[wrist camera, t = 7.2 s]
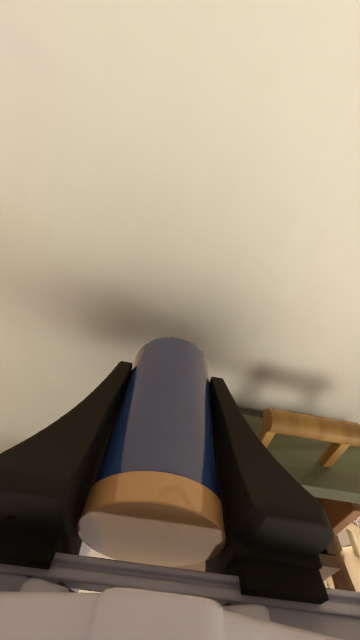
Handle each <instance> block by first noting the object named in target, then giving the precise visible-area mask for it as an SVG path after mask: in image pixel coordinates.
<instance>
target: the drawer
mask: <svg viewBox="0 0 360 640" xmlns="http://www.w3.org/2000/svg"><path fill="white" fill-rule="evenodd" d="M243 416H244V415H243ZM244 418H245V419H246V421H247V422H248V424H249V426H250V427H251V428H252V430H253V431H254V433H255V434H256V436H257V437H258V438H259V439H260V441H261V442H262V443H263V445H264V446H265V447H266V448H267V450H268V451H269V452H270V453H271V454H272V455H273V456H274V458H275V459H276V460H277V461H278V462H279V463H280V464H281V465H282V466H283V468H284V469H285V470H286V471H287V472H288V473H289V474H290V475H291V476H292V477H293V478H294V479H295V480H296V481H297V482H298V483H299V484H300V485H301V486H303V487H304V488H305V489H306V490H307V491H308V492H309V493H310V494H311V495H313V496H314V497H315V498H316V499H317V500H318V501H319V502H320V503H321V504H322V506H323V508H324V510H325V512H326V514H327V517H328V519H329V522H330V524H331V527H332V529H333V532H334V534H335V536H336V535H337V534H338V533H340V532H341V531H342V530H343V529H344V528H346V527H347V526H348V525H349V524H350V523H352V522H353V521H354V520H355V519H356V518H358V517H359V516H360V425H359V424H358V423H354V422H348V421H342V420H336V419H330V418H324V417H318V416H312V415H306V414H301V413H295V412H289V411H283V410H277V409H271V408H266V409H265V410H264V413H263V418H256V417H250V416H244ZM335 536H334V537H335Z"/></svg>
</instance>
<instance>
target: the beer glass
mask: <svg viewBox="0 0 360 640" xmlns="http://www.w3.org/2000/svg"><path fill="white" fill-rule="evenodd" d="M332 544H333V547H334V549H335V552H336V556H337V557H338V560H339V562H340V565H341V567H342V569H340V570H339V571H338V572H336V573H335V574H333V575H332V576H330V577H329V578H327V579H326V582H327V586H328V588H331V589H339V590H347V591H354V592H360V531H359V529H358V527H357V526H356V525H355V524H354V523H350V524H349V525H348V526H347V527H346V528H344V529H343V530H342V531H341V532H340V533H338V534H337V535H336V536H335V537H334V540H333V542H332Z"/></svg>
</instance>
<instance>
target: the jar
mask: <svg viewBox="0 0 360 640" xmlns="http://www.w3.org/2000/svg"><path fill="white" fill-rule="evenodd" d="M76 529H77V533H78V535H79V537H80V538H81V540H82V541H83V542H84V543H85V544H86V545H88V546H89V547H90V548H92V549H93V550H95V551H97V552H99V553H101V554H103V555H105V556H108V557H110V558H113V559H116V560H119V561H126V562H134V563H142V564H149V565H157V566H164V567H177V566H186V565H192V564H196V563H200V562H203V561H206V560H209V559H211V558H213V557H215V556H216V555H218V554H219V553H220V552H221V551H222V550H223V549H224V547H225V545H226V540H227V539H226V529H225V519H224V509H223V505H222V503H221V501H220V498H219V486H218V475H217V463H216V452H215V441H214V429H213V418H212V406H211V395H210V384H209V372H208V363H207V359H206V357H205V355H204V354H203V352H202V351H201V350H200V349H199V348H198V347H197V346H195V345H194V344H192V343H191V342H189V341H186V340H183V339H180V338H173V337H166V338H159V339H156V340H153V341H151V342H149V343H147V344H146V345H145V346H143V347H142V348H141V350H140V351H139V352H138V354H137V356H136V359H135V362H134V365H133V368H132V371H131V374H130V377H129V380H128V383H127V386H126V389H125V392H124V395H123V397H122V400H121V403H120V406H119V409H118V412H117V415H116V418H115V421H114V424H113V427H112V430H111V433H110V436H109V439H108V442H107V445H106V448H105V451H104V454H103V457H102V460H101V463H100V466H99V469H98V472H97V475H96V478H95V481H94V484H93V486H92V487H91V488H90V489H89V491H88V492H87V495H86V498H85V501H84V503H83V506H82V509H81V512H80V515H79V518H78V521H77V526H76Z"/></svg>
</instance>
